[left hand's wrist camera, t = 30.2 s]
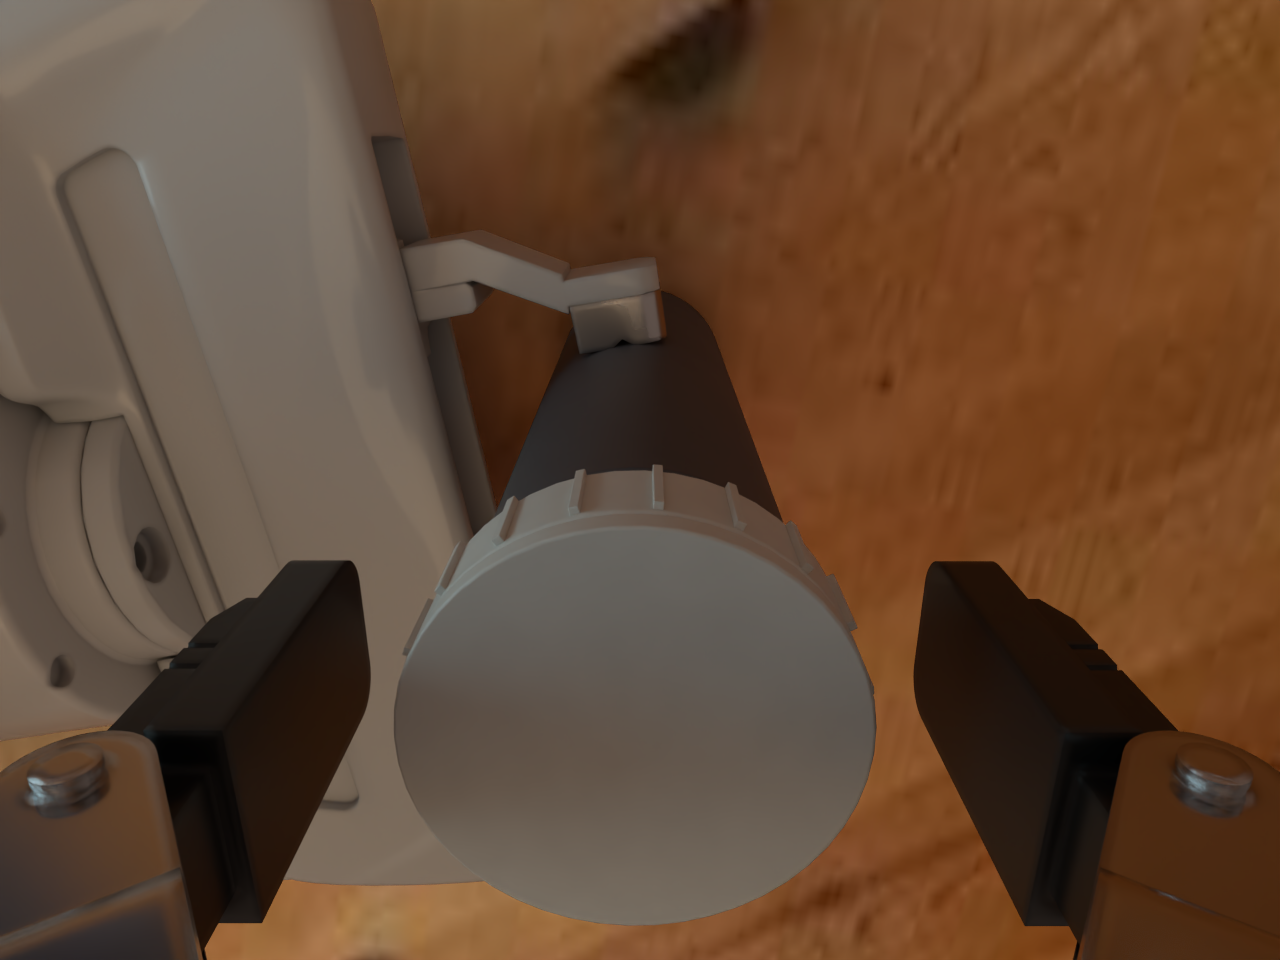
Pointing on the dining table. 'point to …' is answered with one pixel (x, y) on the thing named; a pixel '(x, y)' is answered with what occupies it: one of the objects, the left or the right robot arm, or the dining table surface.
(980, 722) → the left robot arm
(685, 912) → the lid
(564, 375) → the dark brown cylinder
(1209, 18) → the dining table surface
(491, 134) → the dining table surface
